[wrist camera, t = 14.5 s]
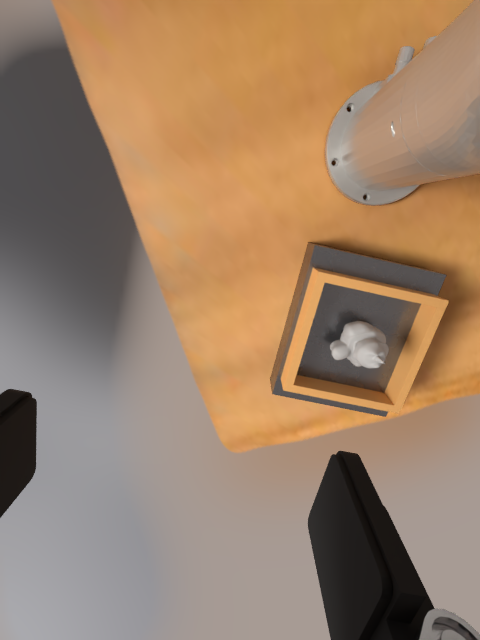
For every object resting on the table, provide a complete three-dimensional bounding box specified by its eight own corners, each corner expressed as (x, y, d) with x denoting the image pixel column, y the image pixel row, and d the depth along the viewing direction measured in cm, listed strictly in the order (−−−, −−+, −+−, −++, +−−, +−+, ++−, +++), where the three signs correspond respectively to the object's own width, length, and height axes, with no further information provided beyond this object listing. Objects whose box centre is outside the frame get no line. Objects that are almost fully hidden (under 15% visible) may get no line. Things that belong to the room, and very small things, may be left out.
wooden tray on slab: (308, 242, 40) (320, 247, 34) (427, 269, 41) (463, 279, 34) (270, 379, 46) (274, 406, 40) (374, 400, 47) (395, 430, 41)
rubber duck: (380, 349, 40) (411, 381, 33) (329, 362, 41) (348, 396, 33) (374, 310, 39) (405, 333, 31) (320, 324, 39) (338, 350, 32)
